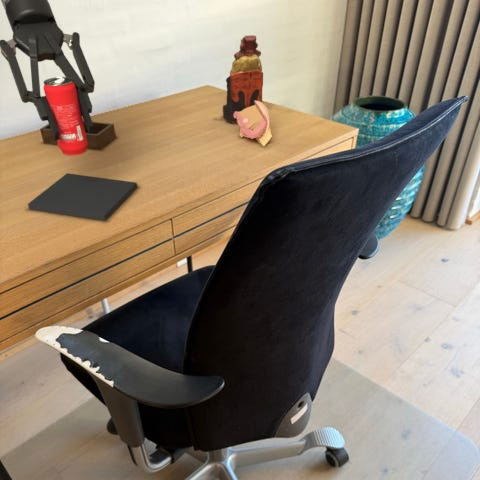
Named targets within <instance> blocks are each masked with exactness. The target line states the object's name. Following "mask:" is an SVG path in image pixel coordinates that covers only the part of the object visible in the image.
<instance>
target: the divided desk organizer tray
mask: <svg viewBox="0 0 480 480" xmlns="http://www.w3.org/2000/svg"><path fill="white" fill-rule="evenodd" d="M92 122H93V125H94V129H93V133H92V134H89V133H88V131H87V128H86V125H85V123H84V120H83V123H84V128H85V133H86V137H87V142H88V145H87V150H88V149H89V150H96V151H101V150H103V149H104V148H105V147H106V146H108V145H109V144H110V143H112V142H113V141H114V140H115V139H116V138H117V134H116V129H115V124H114V123H109V122H99V121H92ZM39 131H40V134H41V138H42V141H43V144H47V145H57V146H58V142H57V140H55V139H54V136H53V133H52V131H51V128H50V125H49V123H47V124H46V125H44V126H43V127H41V128H40V129H39Z"/></svg>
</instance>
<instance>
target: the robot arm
mask: <svg viewBox="0 0 480 480" xmlns="http://www.w3.org/2000/svg"><path fill="white" fill-rule="evenodd" d="M0 1H1V4H2V6H3V9H4V10H5V15H6V18H7V20H8V23H9V25H10V28H11V31H12V38H11V39H9V40H5V39H0V53H1V55H2V56H3V58H4V59H5V60H6V62H7V63H8V65H9V68H10V70H11V74H12V77H13V80H14V83H15V86H16V88H17V91H18V94H19V97H20V100H21V102H23V103H24V104H28V103H32V104H33V106H34V107H35V108H36V111H37V114H38V117H39V120H41V121H42V122H47V124H49V125H50V128H51V131H52V133H53V136H54V139H55V140H60V139H59V130H58V127H57V124H56V122H55V119H54V116H53V114H52V111H51V108H50V106H49V103H48V100H47V98H46V96H45V95H43V96H42V95H41V85H40V83H41V82H40V72H39V71H40V70H39V63H40V62H44V61H53V62H54V64H55V65H56V66H57V67H58V68H59V70H60V71H61V72H62V74H63V75H64V77H68V78H71V79H72V80H73V83H74V84H75V86H76V91H77V96H78V100H79V105H80V109H81V114H82V119H83V121H84V123H85V125H86V128H87V131H88V133H89V134H92V133H93V129H94V125H93V122H94V121H93V119H92V117H91V115H90V114H93V104H92V101H91V99H90V96H89V94H93V93H94V92H95V84H96V82H95V79H94V76H93V74H92V71H91V68H90V67H89V63H88V62H87V59H86V57H85V54H84V51H83V49H82V47H81V38H80V33H79V32H76V31H73V33H72V34H69V33H64V31H63V30H62V29H61V28H60V27H59V25H58V23H57V21H56V18H55V15H54V12H53V10H52V7H51V3H50V2H49V0H0ZM64 43H65V44H66V46H67V48H68V49H69V50H70V51H71V52H72V56H73V59H74V61H75V64H76V66H77V69H78V71H79V73H77V71H76V69H74V67H73V65H72V64H71V63H70V61H69V60H68V58H67V57H66V55H65V52H64V51H63V49H62V47H63V45H64ZM17 49H18V50H20V52H22V53H23V54H25V55H26V56H27V57H28V58H29V62H30V76H31V90H28V88H27V85H26V82H25V79H24V76H23V73H22V70H21V68H20V65H19V61H18V58H17V56H16V55H17ZM79 74H80V75H79ZM80 76H81V77H80Z"/></svg>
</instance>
